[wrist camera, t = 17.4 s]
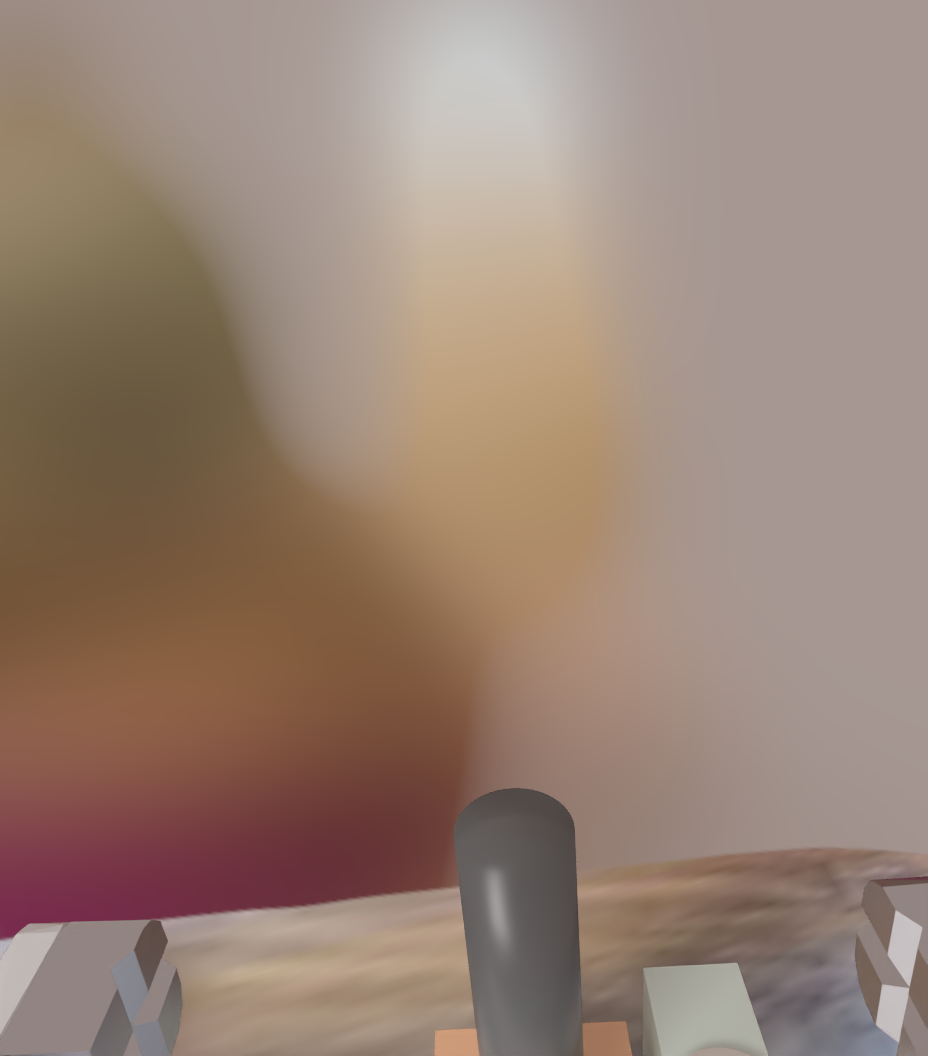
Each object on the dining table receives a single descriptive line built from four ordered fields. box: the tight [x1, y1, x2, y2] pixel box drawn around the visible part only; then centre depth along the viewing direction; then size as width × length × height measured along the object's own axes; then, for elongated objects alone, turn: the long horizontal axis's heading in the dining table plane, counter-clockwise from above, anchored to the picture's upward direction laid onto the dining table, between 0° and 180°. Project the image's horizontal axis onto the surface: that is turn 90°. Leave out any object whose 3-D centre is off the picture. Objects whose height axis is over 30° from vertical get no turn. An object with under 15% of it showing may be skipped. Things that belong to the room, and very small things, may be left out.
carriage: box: [434, 788, 632, 1056], centre depth 28 cm, size 8×9×17 cm
